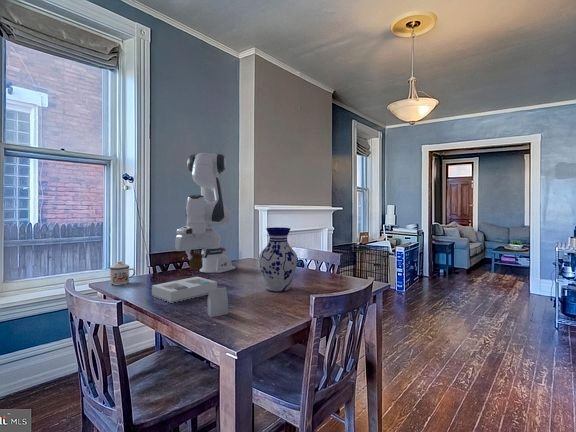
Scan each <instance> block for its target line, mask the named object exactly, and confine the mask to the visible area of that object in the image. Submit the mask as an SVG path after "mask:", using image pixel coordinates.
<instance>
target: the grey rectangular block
mask: <svg viewBox="0 0 576 432" xmlns="http://www.w3.org/2000/svg"><path fill="white" fill-rule="evenodd" d="M207 315H208V316H209V317H210V318H214V317H219V316H223V315H224V316H225V315H229V297H228V292H227V287H225V286H224V287H223V286H222V287H217V288H216V289H209V294H208V296H207Z"/></svg>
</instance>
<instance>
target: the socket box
mask: <svg viewBox="0 0 576 432" xmlns="http://www.w3.org/2000/svg"><path fill="white" fill-rule="evenodd" d="M216 288H218V281H216V280H213V279H208V278H205V277H200V276H193V277H188V278H183V279H179V280H173V281H168V282H163V283H158V284H153V285H151V297H152V296H154V297H153V298H155V297H156V298H155V299H157V298H159V299H158V300H160V299H162V300H161V301H163V300H164V301H163V302H165V301H167V302H166V303H168V302H169V303H168V304H170V303H172V304H175V303H174V302H176V303H179V302H178V301H180V302H184V301H186V300H187V299H188V300H190V299H191V298H192V299H194V298H195V297H196V298H199V297H203V296H207V295H208V294H209V289H216ZM183 300H184V301H183Z"/></svg>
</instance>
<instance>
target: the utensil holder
mask: <svg viewBox="0 0 576 432" xmlns="http://www.w3.org/2000/svg"><path fill="white" fill-rule="evenodd" d="M190 254H191V255H192V257H193V258H192V259H190V260H189V269H190V270H200V269H201V268H202V266H203V260H202V257H201V256H202V254H201V252H196V249H193V252H190Z"/></svg>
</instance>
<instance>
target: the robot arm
mask: <svg viewBox="0 0 576 432" xmlns="http://www.w3.org/2000/svg"><path fill="white" fill-rule="evenodd" d="M186 165H187V169H188V171H189V172H191V175H192V176H191V178H192V180H193V182H194V183H195V184H196V185H197V186H199V187H200V194H191V195H188V197H187V200H186V206H185V217H186V219H187V220H186V223H185V225H184V226H182V227H180V228H177V229H176V231H175V232H176V234H177V235H176V237H175V243H174V246H175V248H174V249H175V250H176V251H177V252H184V251H185V254H186V255H187V259H188V260H189V261H190V259H192V258H193V257H192V255H191V253H192V250H193V251H194V249H195V250H200V249H201V252H200V253H201V254H202V256H201V257H202V260H203V266H202V268H201V269H199V272H201V273H217V274H218V273H224V272H228V271H231V270H235V269H236V266H234V265H232V260H231V258H230V257H229V256H227V255H226V254H225V253H224V252H226V251H227V248H226V247H222V246H221V238H222V237H221V235H220V232H218V231H217V230H215V229H214V226H225V225H229V224H230V222H231V221H232V212H231V211H230V209H229V208H227V207H226V206H225V204H224V200H223V194H222V187H221V184H220V183H221V182H220V179H219V178H220V177H219V175H221V174H222V173H223V172H224V171H225V170H226V168H227V159H226V157H225V155H224V154H221V153H208V152H200V153H198V154H191V155H190V156H188V157H187V161H186Z"/></svg>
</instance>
